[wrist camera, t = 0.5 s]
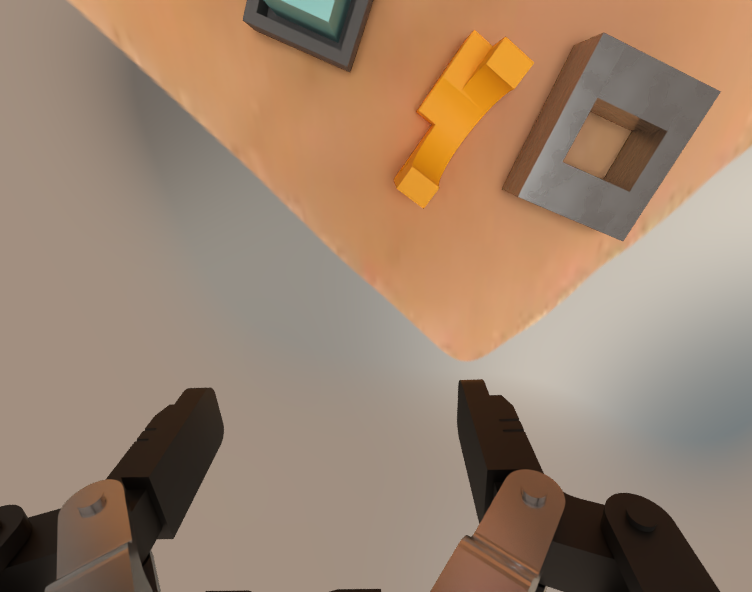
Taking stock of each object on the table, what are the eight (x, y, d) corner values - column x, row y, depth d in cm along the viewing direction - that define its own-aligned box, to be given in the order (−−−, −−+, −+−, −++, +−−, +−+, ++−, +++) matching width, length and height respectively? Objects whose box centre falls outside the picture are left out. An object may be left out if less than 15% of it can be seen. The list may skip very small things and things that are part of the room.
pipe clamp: (465, 39, 32) (485, 17, 26) (505, 75, 32) (534, 62, 27) (377, 167, 35) (377, 174, 29) (416, 196, 36) (423, 208, 30)
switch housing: (574, 45, 31) (603, 32, 27) (677, 96, 33) (720, 91, 29) (501, 189, 36) (517, 196, 32) (595, 228, 37) (623, 241, 33)
